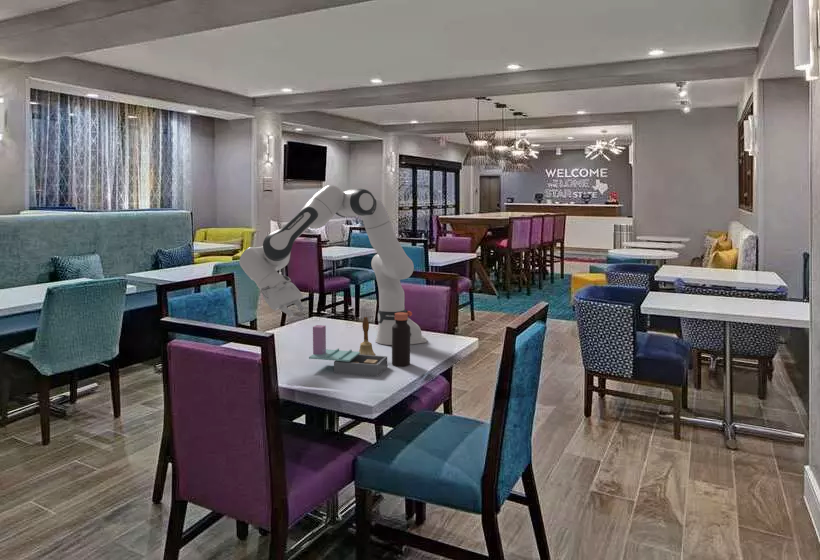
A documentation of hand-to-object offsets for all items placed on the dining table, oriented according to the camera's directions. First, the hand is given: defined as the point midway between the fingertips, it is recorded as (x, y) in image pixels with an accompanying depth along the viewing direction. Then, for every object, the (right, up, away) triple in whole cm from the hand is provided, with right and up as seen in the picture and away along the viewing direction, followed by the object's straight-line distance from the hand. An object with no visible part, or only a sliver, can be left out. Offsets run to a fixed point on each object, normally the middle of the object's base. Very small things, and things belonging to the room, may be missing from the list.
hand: (297, 312), depth 210 cm
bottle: (+37, -20, +5) cm, 43 cm away
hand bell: (+23, -19, +18) cm, 35 cm away
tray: (+23, -21, -3) cm, 32 cm away
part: (+27, -20, -2) cm, 34 cm away
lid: (+14, -15, -1) cm, 21 cm away
